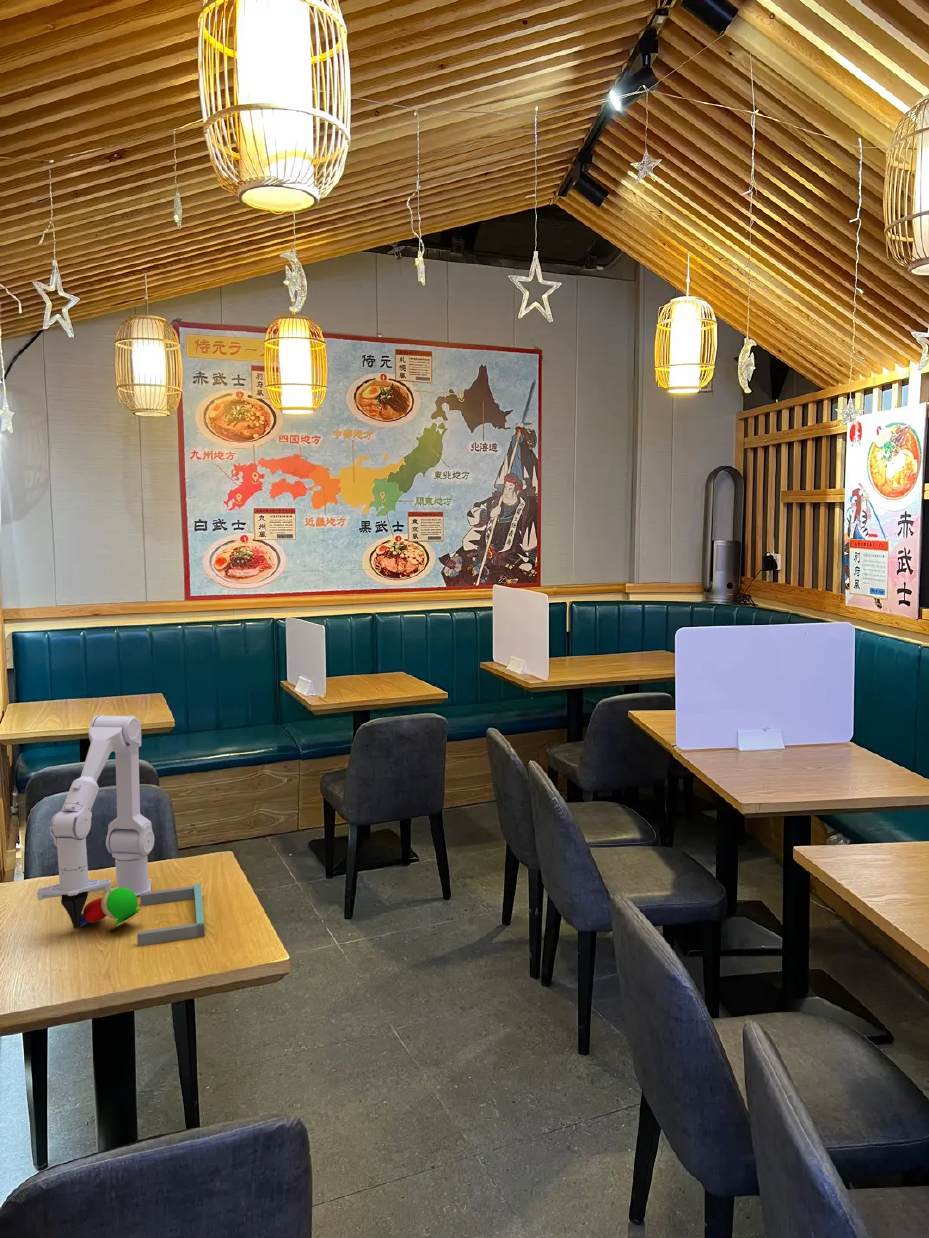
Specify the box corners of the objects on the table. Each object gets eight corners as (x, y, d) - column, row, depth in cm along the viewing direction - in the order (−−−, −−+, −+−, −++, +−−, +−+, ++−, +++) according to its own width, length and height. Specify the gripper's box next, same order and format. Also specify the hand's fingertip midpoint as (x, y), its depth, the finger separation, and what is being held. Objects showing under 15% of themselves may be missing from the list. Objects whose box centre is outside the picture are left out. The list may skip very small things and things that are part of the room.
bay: (141, 903, 211) (140, 890, 210) (201, 895, 215) (200, 882, 215) (137, 946, 189) (136, 932, 189) (204, 936, 193) (204, 922, 193)
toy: (80, 947, 196) (126, 921, 191) (64, 915, 197) (109, 888, 192) (108, 931, 204) (153, 905, 199) (92, 899, 205) (136, 873, 200)
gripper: (33, 876, 188) (37, 939, 190) (107, 867, 193) (111, 928, 194) (38, 865, 195) (42, 925, 197) (110, 856, 200) (113, 915, 201)
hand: (77, 926), depth 196 cm, fingers closed
